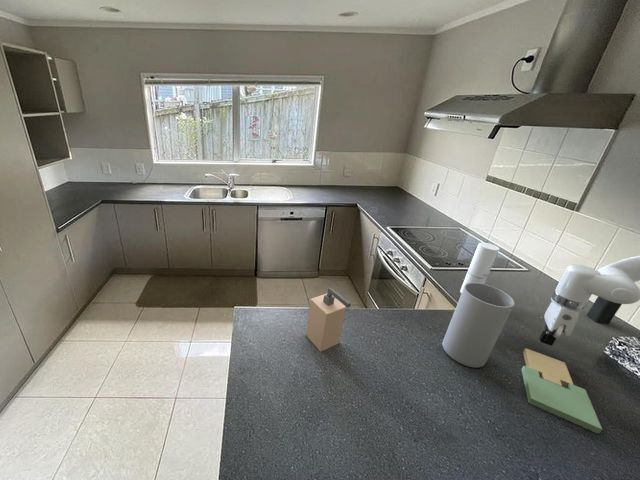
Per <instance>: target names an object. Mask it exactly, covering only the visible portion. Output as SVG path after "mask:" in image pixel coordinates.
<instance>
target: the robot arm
mask: <svg viewBox="0 0 640 480" xmlns="http://www.w3.org/2000/svg"><path fill="white" fill-rule="evenodd" d="M639 281H640V255H635V256H631V257H627V258H624V259H620V260H617V261H615V262H611V263H610V264H607V265H604V266H602V267H600V268H598V269H595V268H592V267H590V266H587V265H583V264H577V263H576V264H569V265H568V266H567V267H566V268H565V270H564V272H563V274H562V276H561V278H560V280H559V282H558V284H557V286H556V287H555V290H554V292H553V293H552V295H551V297H550V301H551V302H550V303H549V305H548V307H547V309H546V310H545V313H544V316H543V318H544V321H545V326H544V328H543V331H542V332H541V334H540V335H539V338H538V340H539V342H540V343H542V344H544V345H547V346H554V344H555V342H556V340H560V339H561V337H562V333H563V335H564V336H565V337H567V338H568V337H571V334H572V333H573V331H574V328H575V327H576V325H577V322H578V319H579V316H580V313H581V312H583V311H584V309H585V307H586V306H587V304H588V301H589V300H590V298H591V297H592V295H594V296H596V297H598V296H599V297H601V298H603V299H606V300H609V301H611V302H615V303H619V304H622V305H632V304H635V303H637V302H639V301H640V287H639V286H638V285H637V284H636V282H639Z"/></svg>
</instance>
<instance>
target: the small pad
mask: <svg viewBox="0 0 640 480" xmlns="http://www.w3.org/2000/svg"><path fill="white" fill-rule="evenodd" d="M522 354H523V359H524V363H525V366H527V367H529V368H532V369H535V370H537V371H538V372H539V376H540V378H542V379H545V380H547V381H550V382H552V383H555V384H557V385H560V386H562V387H565V388H566V387H567V386H568V384H569V383H570V384H573V385H574V382H573V380H572V377H571V375H570V372H569V369H568V366H567V364H566V362H564V361H561V360H559V359H556V358H553V357H551V356H548V355H545V354H543V353H540V352H538V351H535V350H532V349H529V348H527V347H525V348H524V349H523V351H522Z"/></svg>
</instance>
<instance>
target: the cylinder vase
mask: <svg viewBox="0 0 640 480" xmlns="http://www.w3.org/2000/svg"><path fill="white" fill-rule="evenodd" d="M515 304H516V303H515V300H514V299H513V297H512V296H510V295H509V294H508V293H506V292H505V291H503V290H501V289H499V288H497V287H495V286H492V285H489V284H486V283H485V284H482V283H467V284H465V286H464V289H463V291H462V294H461V293H460V297H459V299H458V301H457V305H456V306H455V309H454V312H453V314H452V317H451V318H450V319H451V320H450V321H449V324H448V327H447V329H446V332H445V335H444V338H443V340H442V348H443V350H444V352H445V353H446V354H447V355H448V356H449V357H450V358H451V359H452V360H454V361H455V362H456V363H459V364H461V365H463V366H466V367H469V368H482V367H485V364H486V363H487V361H488V359H489V357H490V355H491V353H492V351H493V349H494V347H495V345H496V343H497V341H498V339H499V336H500V335H501V332H502V330H503V329H504V326H505V324H506V322H507V320H508V318H509V317H510V314H511V313H512V310H513V309H514V306H515Z"/></svg>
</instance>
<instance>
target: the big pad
mask: <svg viewBox="0 0 640 480" xmlns="http://www.w3.org/2000/svg"><path fill="white" fill-rule="evenodd" d="M521 375H522V379H523V384H524V389H525V393H526V397H527V403H528V404H530V405H532V406H534V407H537V408H539V409H541V410H543V411H545V412H548V413H550V414H552V415H554V416H557V417H559V418H561V419H563V418H564V420H566V421H568V420H569V421H568V422H570V421H571V422H570V423H572V422H573V423H572V424H574V425H577V424H578V425H577V426H579V425H580V426H579V427H581V426H582V428H584V429H586V430H588V429H589V431H590V430H591V431H590V432H593V433H595V434H597V433H598V434H597V435H599V434H600V433H601V432H602V431H603V428H602V425H601V423H600V421H599V418H598V416H597V414H596V411H595V409H594V406H593V404H592V402H591V399H590V397H589V394H588V393H587V389H586V388H582V387H580V386H578V385H575V384H574V383H573V384H570V383H569V384H568V386H567V387H564V386H560V385H557V384H555V383H552V382H550V381H547V380H545V379H542V378H540V376H539V372H538V371H537V370H535V369H532V368H529V367H527V366H526V365H523V366H522V368H521Z"/></svg>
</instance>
